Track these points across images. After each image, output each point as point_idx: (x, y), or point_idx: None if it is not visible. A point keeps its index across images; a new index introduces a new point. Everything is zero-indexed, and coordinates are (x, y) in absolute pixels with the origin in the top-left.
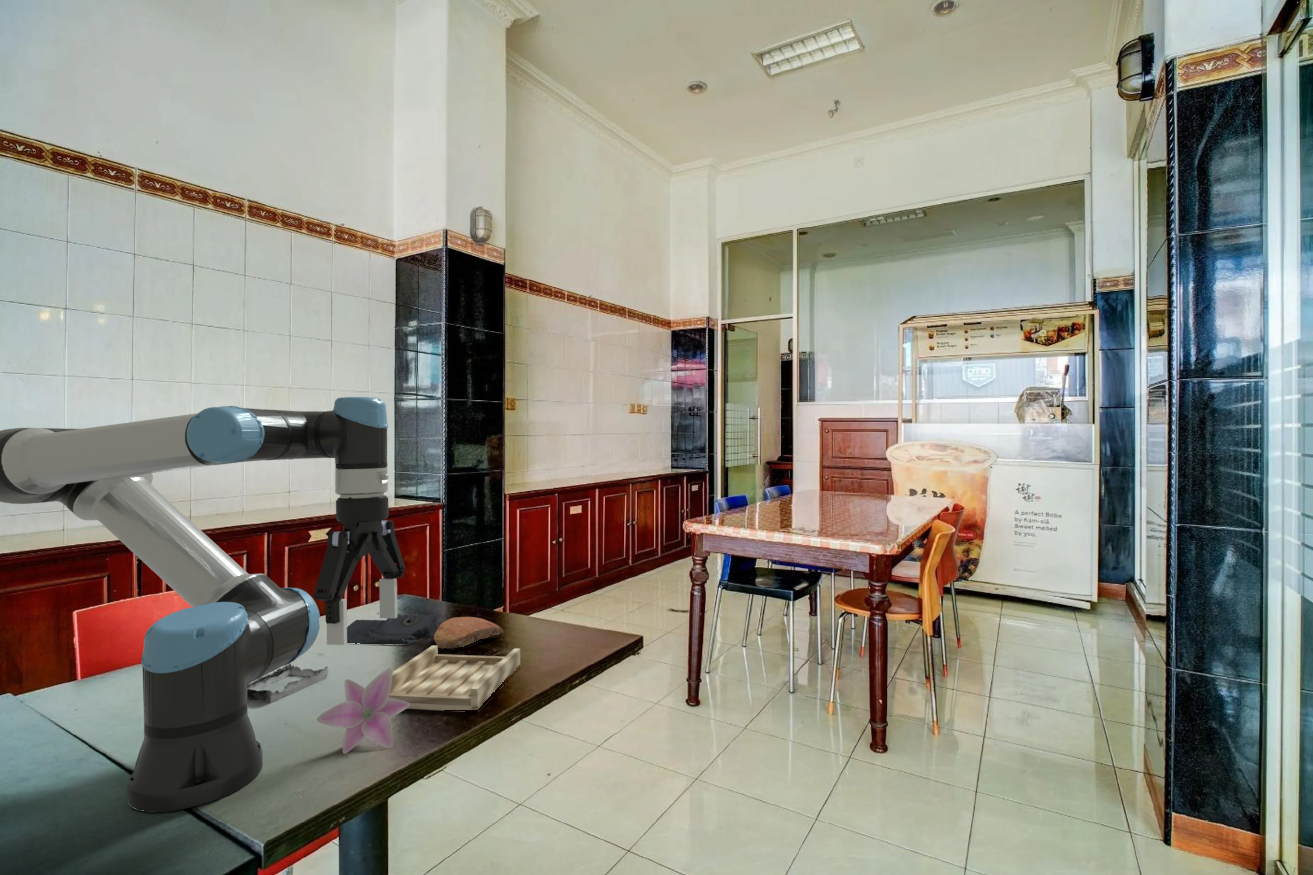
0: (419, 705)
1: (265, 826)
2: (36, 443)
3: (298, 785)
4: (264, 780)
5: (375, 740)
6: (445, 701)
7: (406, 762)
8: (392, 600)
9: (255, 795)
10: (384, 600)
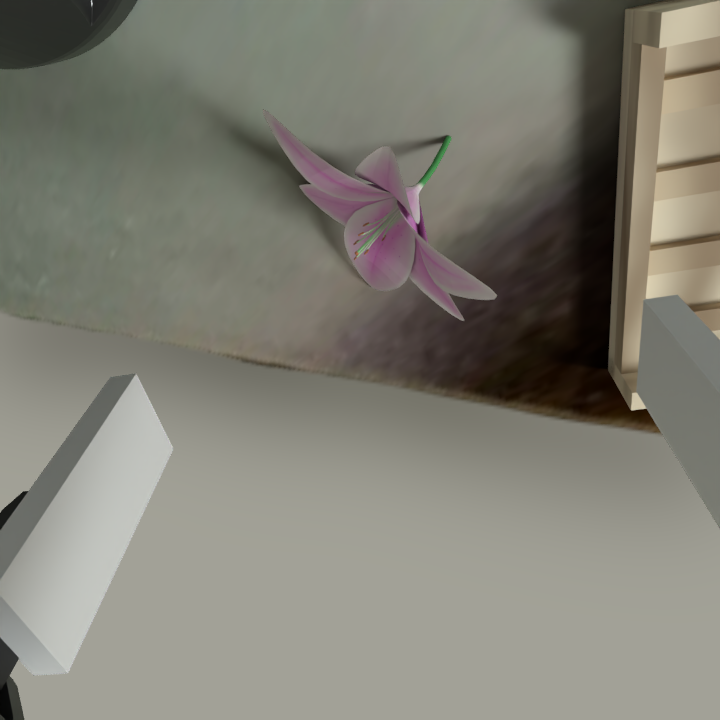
0: (620, 203)
1: (12, 271)
2: None
3: (137, 204)
4: (101, 88)
5: (352, 258)
6: (621, 296)
7: (321, 363)
8: (687, 460)
9: (52, 137)
10: (694, 406)
